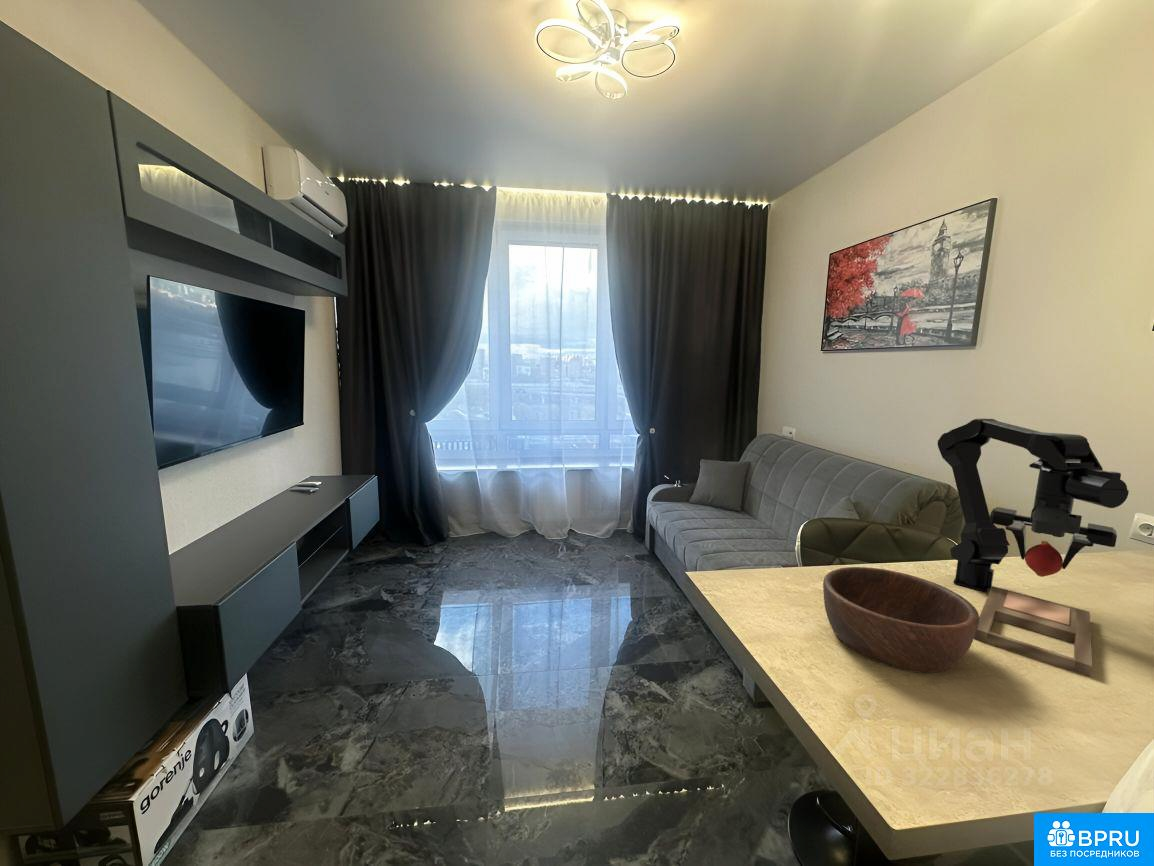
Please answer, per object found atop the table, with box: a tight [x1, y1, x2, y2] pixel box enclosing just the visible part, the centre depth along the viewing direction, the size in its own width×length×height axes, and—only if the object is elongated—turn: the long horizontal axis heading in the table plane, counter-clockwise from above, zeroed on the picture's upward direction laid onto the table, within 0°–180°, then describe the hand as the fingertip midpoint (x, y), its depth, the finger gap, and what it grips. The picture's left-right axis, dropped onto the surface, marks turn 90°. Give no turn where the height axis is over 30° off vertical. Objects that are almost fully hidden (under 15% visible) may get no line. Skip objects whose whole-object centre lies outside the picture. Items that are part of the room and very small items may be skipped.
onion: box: [1024, 540, 1064, 578], centre depth 101 cm, size 6×6×8 cm
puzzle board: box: [973, 585, 1093, 677], centre depth 98 cm, size 16×28×2 cm, turn 133°
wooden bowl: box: [822, 566, 980, 673], centre depth 92 cm, size 25×25×10 cm
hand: (1042, 563), depth 101 cm, fingers closed on onion, 6 cm apart
